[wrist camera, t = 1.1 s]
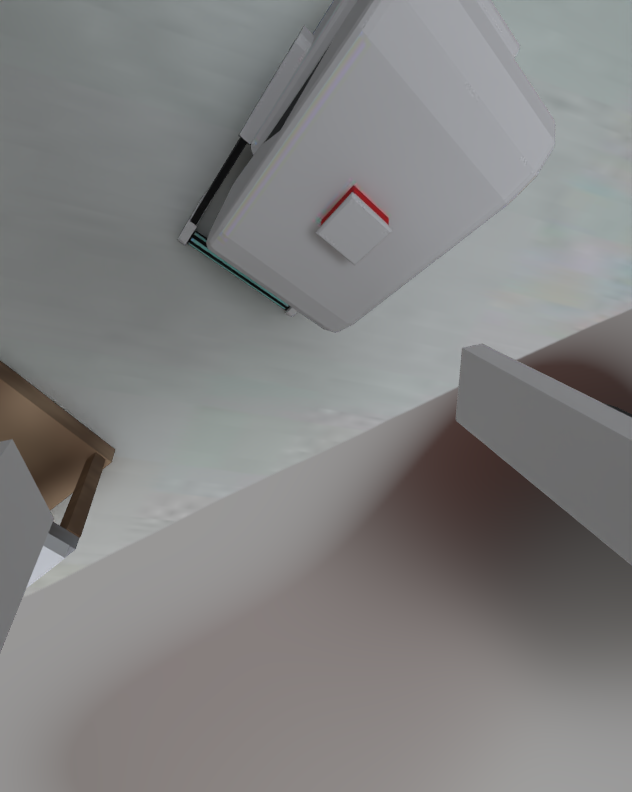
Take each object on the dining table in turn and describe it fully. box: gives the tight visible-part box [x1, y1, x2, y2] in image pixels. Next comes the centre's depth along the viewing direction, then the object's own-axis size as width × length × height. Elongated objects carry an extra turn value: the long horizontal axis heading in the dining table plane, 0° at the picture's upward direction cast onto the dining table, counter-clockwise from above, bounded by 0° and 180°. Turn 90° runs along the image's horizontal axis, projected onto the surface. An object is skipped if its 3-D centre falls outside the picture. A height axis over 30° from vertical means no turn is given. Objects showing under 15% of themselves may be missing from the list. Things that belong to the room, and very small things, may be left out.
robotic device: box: [177, 0, 556, 333], centre depth 25 cm, size 10×21×20 cm
